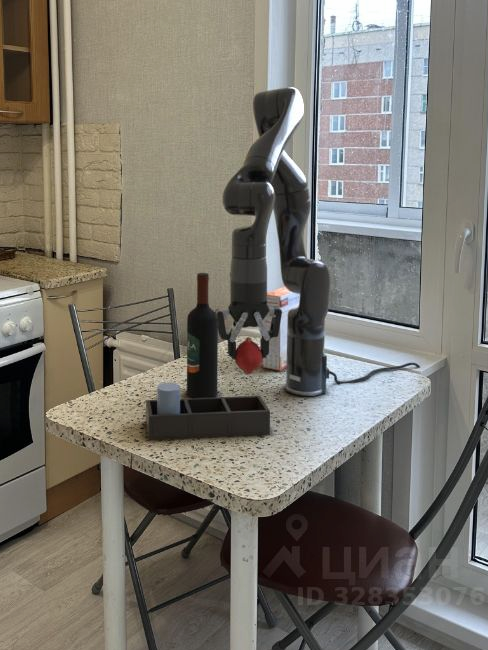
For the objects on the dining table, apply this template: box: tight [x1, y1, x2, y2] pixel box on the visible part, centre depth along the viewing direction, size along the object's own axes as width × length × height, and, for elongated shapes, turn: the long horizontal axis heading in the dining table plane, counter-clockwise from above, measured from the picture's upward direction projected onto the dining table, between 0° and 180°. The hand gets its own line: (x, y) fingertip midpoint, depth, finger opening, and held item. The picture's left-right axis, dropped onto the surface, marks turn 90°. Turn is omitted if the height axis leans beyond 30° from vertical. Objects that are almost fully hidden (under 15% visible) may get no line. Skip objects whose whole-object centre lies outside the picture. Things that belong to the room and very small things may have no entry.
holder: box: [145, 395, 271, 441], centre depth 145 cm, size 26×9×5 cm, turn 97°
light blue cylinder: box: [156, 382, 181, 415], centre depth 144 cm, size 5×5×9 cm
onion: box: [234, 336, 263, 375], centre depth 140 cm, size 6×6×8 cm
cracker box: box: [262, 285, 300, 372], centre depth 188 cm, size 14×6×21 cm, turn 144°
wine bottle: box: [186, 272, 219, 398], centre depth 164 cm, size 8×8×30 cm
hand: (248, 357), depth 140 cm, fingers closed on onion, 5 cm apart
